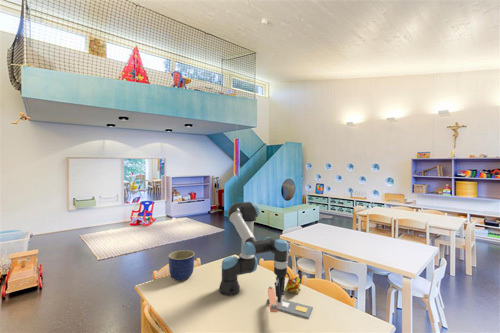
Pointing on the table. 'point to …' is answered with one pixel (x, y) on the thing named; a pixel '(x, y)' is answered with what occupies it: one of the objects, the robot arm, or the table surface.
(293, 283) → the toy
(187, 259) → the planter
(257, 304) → the table surface
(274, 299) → the swing arm
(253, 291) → the table surface
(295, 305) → the label board
